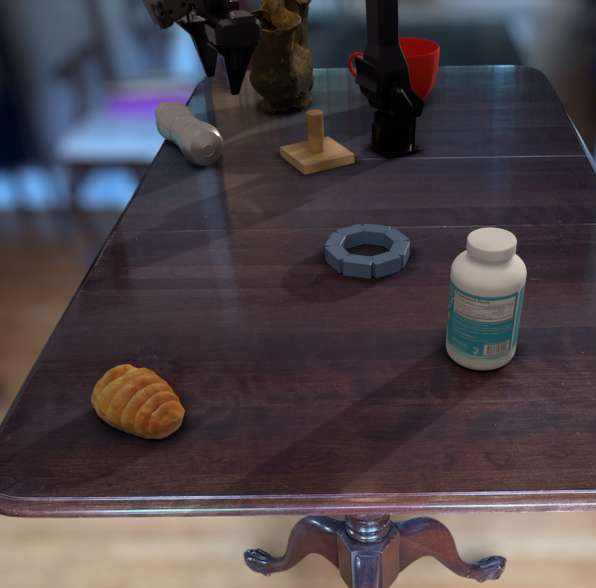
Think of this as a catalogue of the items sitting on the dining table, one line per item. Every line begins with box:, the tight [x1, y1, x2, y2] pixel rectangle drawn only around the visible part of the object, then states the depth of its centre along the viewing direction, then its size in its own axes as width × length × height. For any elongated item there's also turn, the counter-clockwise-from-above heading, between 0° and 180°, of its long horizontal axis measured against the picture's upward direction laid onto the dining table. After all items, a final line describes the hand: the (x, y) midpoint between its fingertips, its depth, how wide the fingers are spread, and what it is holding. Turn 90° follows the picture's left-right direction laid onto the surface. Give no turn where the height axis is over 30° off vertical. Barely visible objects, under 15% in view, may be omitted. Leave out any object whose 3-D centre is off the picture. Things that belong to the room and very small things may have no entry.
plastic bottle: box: [154, 101, 224, 167], centre depth 118 cm, size 6×7×20 cm
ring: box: [323, 223, 411, 280], centre depth 91 cm, size 10×10×2 cm
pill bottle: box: [445, 227, 528, 371], centre depth 72 cm, size 8×7×14 cm
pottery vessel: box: [247, 0, 315, 114], centre depth 130 cm, size 25×11×20 cm, turn 175°
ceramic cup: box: [347, 36, 441, 102], centre depth 134 cm, size 13×17×10 cm
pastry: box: [90, 363, 186, 440], centre depth 68 cm, size 9×7×4 cm
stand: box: [279, 109, 355, 176], centre depth 114 cm, size 9×9×8 cm
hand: (222, 85), depth 99 cm, fingers open, 9 cm apart
